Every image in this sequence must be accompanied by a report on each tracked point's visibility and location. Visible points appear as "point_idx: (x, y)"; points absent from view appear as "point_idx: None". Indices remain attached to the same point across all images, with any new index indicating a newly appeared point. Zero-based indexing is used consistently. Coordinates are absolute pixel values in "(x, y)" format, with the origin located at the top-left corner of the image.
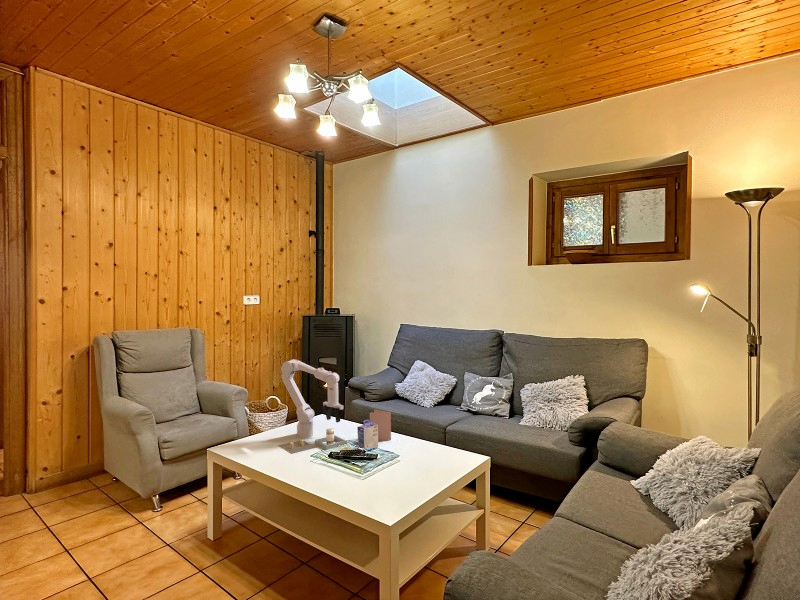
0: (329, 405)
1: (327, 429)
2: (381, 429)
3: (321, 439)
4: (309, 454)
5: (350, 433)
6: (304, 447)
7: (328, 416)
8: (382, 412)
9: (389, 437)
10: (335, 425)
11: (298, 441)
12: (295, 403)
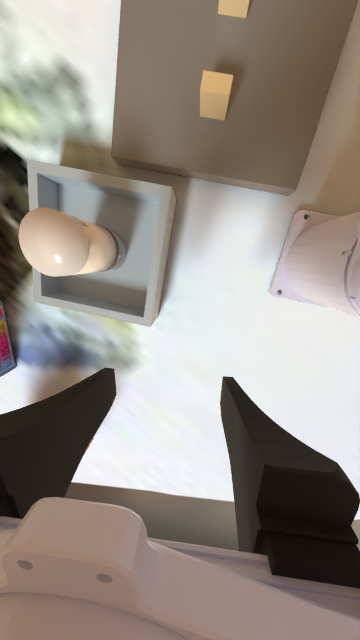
0: (6, 560)
1: (68, 232)
2: None
3: (155, 232)
4: (94, 81)
5: (189, 423)
6: (167, 91)
7: (227, 405)
8: None
9: None
10: None
11: (294, 146)
12: None
